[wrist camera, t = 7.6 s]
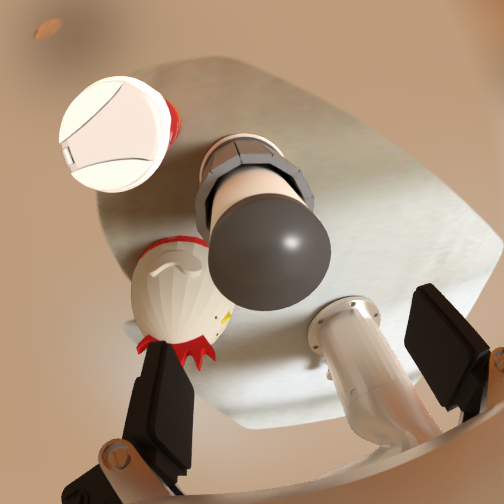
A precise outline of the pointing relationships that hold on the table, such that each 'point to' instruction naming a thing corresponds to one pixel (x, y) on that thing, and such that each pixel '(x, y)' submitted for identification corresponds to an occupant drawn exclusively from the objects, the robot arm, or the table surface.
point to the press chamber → (232, 155)
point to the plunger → (264, 240)
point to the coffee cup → (117, 133)
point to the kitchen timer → (179, 298)
